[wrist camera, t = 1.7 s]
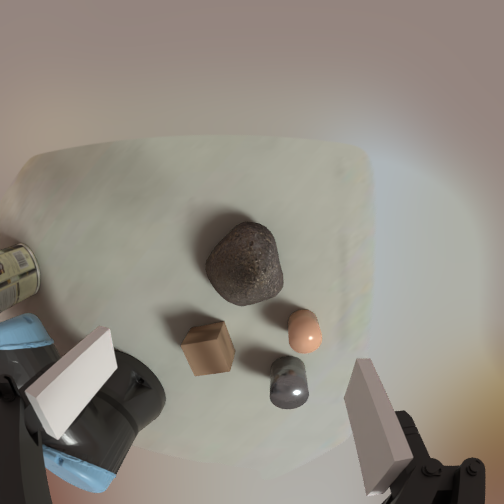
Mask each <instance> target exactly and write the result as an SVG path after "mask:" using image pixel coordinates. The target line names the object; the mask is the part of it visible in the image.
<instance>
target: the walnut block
mask: <svg viewBox="0 0 504 504" xmlns="http://www.w3.org/2000/svg"><path fill="white" fill-rule="evenodd" d="M181 348H182V350H183V352H184V354H185V356H186V359H187V361H188V363H189V365H190V367H191V369H192V371H193V373H194V375H195V376H200V375H208V374H216V373H223V372H229V371H230V370H231V366H232V362H233V359H234V355H235V349H234V346H233V344H232V341H231V338H230V336H229V333H228V330H227V327H226V325H225V322H224V321H223V322H218V323H213V324H208V325H203V326H198V327H192V328H191V329H190V331H189V332H188V334H187V336H186V337H185V339H184V340H183V342H182V344H181Z"/></svg>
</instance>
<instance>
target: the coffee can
mask: <svg viewBox="0 0 504 504" xmlns="http://www.w3.org/2000/svg"><path fill="white" fill-rule="evenodd" d="M39 287H40V271H39V266H38V263H37V260H36V258H35V256H34V254H33V252H32V251H31V250H30V248H29V247H28V246H26V245H24V244H22V243H20V244H17V245H14V246H11V247H8V248H5V249H2V250H0V313H1V312H3V311H4V310H6V309H8V308H10V307H11V306H13V305H15V304H17V303H19V302H21V301H22V300H24V299H26V298H28V297H30V296H32V295H35V294H36V293H37V292H38V290H39Z"/></svg>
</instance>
